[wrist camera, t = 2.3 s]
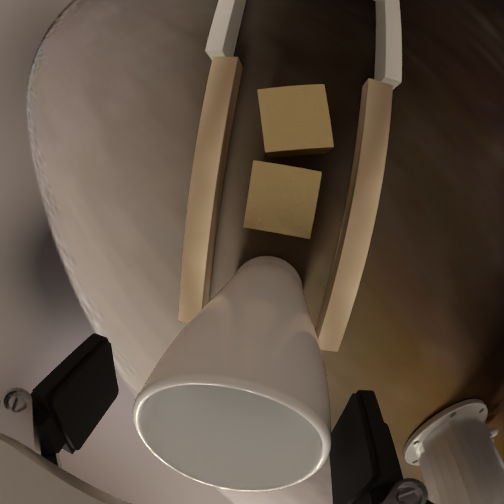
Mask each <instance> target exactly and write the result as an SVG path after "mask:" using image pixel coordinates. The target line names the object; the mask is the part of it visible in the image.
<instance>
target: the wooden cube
mask: <svg viewBox="0 0 504 504" xmlns="http://www.w3.org/2000/svg"><path fill="white" fill-rule="evenodd" d="M321 175H322V172H320V171H315V170H309V169H304V168H298V167H293V166H287V165H281V164H275V163H268V162H262V161H255V160H253V166H252V173H251V179H250V186H249V193H248V199H247V206H246V213H245V219H244V226H243V227H245V228H251V229H257V230H263V231H268V232H274V233H279V234H285V235H291V236H296V237H301V238H307V239H310V236H311V231H312V226H313V221H314V215H315V210H316V204H317V199H318V193H319V187H320V181H321Z"/></svg>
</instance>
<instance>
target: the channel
mask: <svg viewBox="0 0 504 504" xmlns="http://www.w3.org/2000/svg"><path fill="white" fill-rule="evenodd" d="M242 69H243V66H242V64H241V62H240V60H239V58H238V57H224V56H213V59H212V64H211V68H210V73H209V78H208V82H207V87H206V92H205V97H204V103H203V108H202V113H201V119H200V125H199V130H198V136H197V142H196V149H195V155H194V162H193V169H192V176H191V183H190V191H189V199H188V208H187V216H186V226H185V236H184V246H183V258H182V270H181V284H180V300H179V320H178V321H182V322H186V323H189V322H190V321H191V320H192V319H193V318H194V317H195V316H196V315H197V314H198V313H199V312H200V311H201V310H202V309H203V308H204V307H205V306H206V305H207V304H208V302H209V292H210V283H211V274H212V265H213V257H214V248H215V240H216V233H217V225H218V217H219V210H220V203H221V195H222V188H223V182H224V175H225V168H226V162H227V155H228V149H229V143H230V137H231V131H232V125H233V119H234V113H235V107H236V102H237V96H238V91H239V85H240V80H241V75H242ZM392 91H393V85H390V84H387V83H384V82H381V81H377V80H374V79H370V78H368V80H367V81H366V82H365V84H364V85H363V86H362V94H361V104H360V113H359V122H358V130H357V138H356V145H355V152H354V159H353V165H352V172H351V178H350V184H349V189H348V195H347V200H346V206H345V211H344V216H343V221H342V226H341V231H340V235H339V240H338V245H337V249H336V253H335V258H334V262H333V266H332V270H331V274H330V278H329V282H328V286H327V290H326V294H325V298H324V302H323V305H322V309H321V313H320V316H319V320H318V323H317V327H316V330H315V332H316V335H317V338H318V342H319V345H320V349H321V350H328V351H335V352H338V349H339V346H340V343H341V341H342V338H343V335H344V332H345V329H346V326H347V323H348V320H349V317H350V313H351V310H352V307H353V304H354V300H355V297H356V294H357V290H358V287H359V283H360V280H361V276H362V272H363V269H364V265H365V261H366V257H367V253H368V249H369V245H370V240H371V236H372V232H373V227H374V222H375V218H376V213H377V208H378V202H379V197H380V192H381V186H382V180H383V174H384V167H385V160H386V153H387V145H388V137H389V128H390V118H391V106H392Z"/></svg>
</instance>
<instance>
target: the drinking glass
mask: <svg viewBox="0 0 504 504" xmlns="http://www.w3.org/2000/svg"><path fill="white" fill-rule="evenodd" d="M133 420H134V425H135V428H136V430H137V432H138V434H139V436H140V438H141V440H142V441H143V442H144V444H145V445H146V446H147V448H148V449H149V450H150V451H151V452H152V453H153V454H154V455H155V456H156V457H157V458H159V459H160V460H161V461H163V462H164V463H165V464H166V465H168V466H169V467H171V468H172V469H174V470H176V471H177V472H179V473H181V474H183V475H185V476H187V477H189V478H191V479H193V480H196V481H198V482H201V483H204V484H207V485H211V486H214V487H218V488H223V489H228V490H236V491H269V490H276V489H280V488H285V487H288V486H291V485H294V484H297V483H299V482H301V481H303V480H305V479H307V478H309V477H310V476H312V475H313V474H315V473H316V472H317V471H318V470H319V469H320V468H321V467H322V466H323V465H324V463H325V462H326V460H327V458H328V456H329V454H330V450H331V413H330V399H329V390H328V382H327V375H326V370H325V365H324V360H323V356H322V352H321V349H320V345H319V342H318V338H317V335H316V332H315V329H314V326H313V322H312V319H311V316H310V313H309V310H308V306H307V303H306V300H305V297H304V293H303V286H302V281H301V278H300V276H299V274H298V273H297V271H296V270H295V269H294V267H293V266H292V265H290V264H289V263H288V262H286V261H285V260H283V259H280V258H277V257H273V256H260V257H256V258H253V259H250V260H249V261H247V262H245V263H244V264H243V265H242V266H241V267H240V268H239V269H238V270H237V272H236V273H235V275H234V276H233V277H232V279H231V280H230V281H229V282H228V283H227V284H226V285H225V286H224V287H223V288H222V289H221V290H220V291H219V292H218V293H217V294H216V295H215V296H214V297H213V298H212V299H211V301H210V302H209V303H208V304H207V305H206V306H205V307H204V308H203V309H202V310H201V311H200V312H199V313H198V314H197V315H196V316H195V317H194V318H193V319H192V320H191V321H190V322H189V323H188V324H187V325H186V327H185V328H184V329H183V330H182V331H181V332H180V334H179V335H178V336H177V337H176V339H175V340H174V341H173V343H172V344H171V345H170V347H169V348H168V349H167V351H166V352H165V353H164V355H163V356H162V358H161V359H160V361H159V362H158V364H157V365H156V367H155V368H154V370H153V371H152V373H151V375H150V376H149V378H148V380H147V381H146V383H145V385H144V386H143V388H142V390H141V391H140V393H139V394H138V396H137V398H136V400H135V403H134V406H133Z"/></svg>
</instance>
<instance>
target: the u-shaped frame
mask: <svg viewBox="0 0 504 504" xmlns="http://www.w3.org/2000/svg"><path fill="white" fill-rule="evenodd" d="M375 3H376V51H375V73H374V80H377V81H381V82H384V83H387V84H390V85H393V89H394V88H396V87H397V86H398V85H399V84H400V83H401V82H402V35H401V16H400V4H399V0H375ZM245 4H246V0H219V1H218V5H217V8H216V12H215V15H214V19H213V22H212V26H211V30H210V34H209V37H208V41H207V45H206V49H205V51H206V53H207V54H208V55H209V57H210V58H211V60H212V59H213V56H224V57H233V56H234V52H235V47H236V42H237V38H238V33H239V29H240V25H241V20H242V16H243V12H244V8H245Z"/></svg>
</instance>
